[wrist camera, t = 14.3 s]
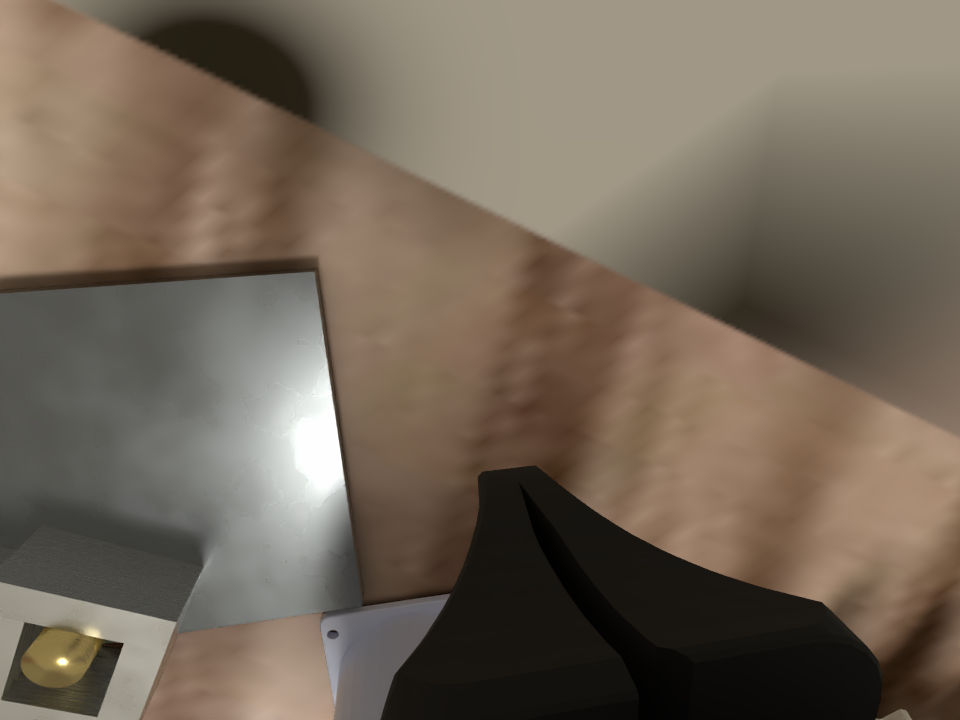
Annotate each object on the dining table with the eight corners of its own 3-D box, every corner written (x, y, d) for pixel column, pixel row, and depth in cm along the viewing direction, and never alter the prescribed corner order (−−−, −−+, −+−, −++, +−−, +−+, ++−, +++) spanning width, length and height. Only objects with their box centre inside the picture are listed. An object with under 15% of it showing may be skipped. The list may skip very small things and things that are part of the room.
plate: (363, 593, 25) (362, 606, 24) (-216, 676, 22) (-238, 693, 21) (317, 268, 20) (314, 271, 19) (-428, 319, 17) (-465, 326, 17)
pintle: (136, 609, 23) (93, 682, 19) (84, 616, 22) (31, 692, 19) (124, 569, 22) (77, 638, 19) (70, 576, 22) (12, 647, 18)
